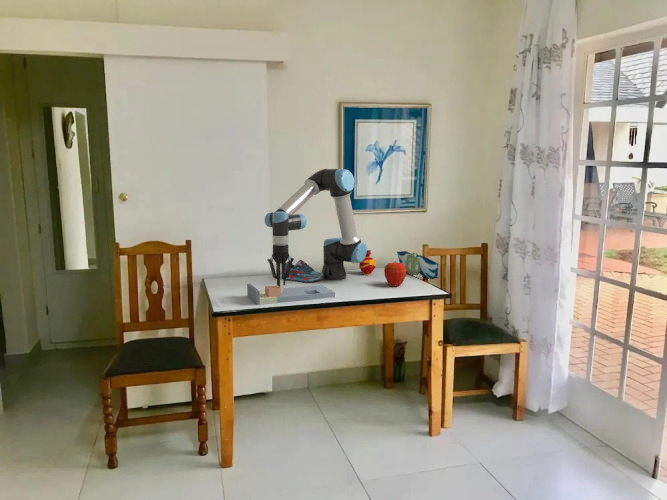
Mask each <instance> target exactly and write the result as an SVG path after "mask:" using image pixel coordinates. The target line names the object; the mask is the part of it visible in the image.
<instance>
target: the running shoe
mask: <svg viewBox="0 0 667 500" xmlns="http://www.w3.org/2000/svg"><path fill="white" fill-rule="evenodd" d="M287 264H288V261H286V265H285V273H286V269H287ZM322 278H324V274H323V272H321V271H320V272H319V271H315V269H314V268H313V267H311V266H310V265H309V264H308V263H306V262H305V261H304V260H303V259H299V260H298V261H297V262H296V264H294V263H292V265H291V269H290V274H289V277H288V278H286V279H285V281H291V282H293V281H295V282H301V283H306V284H307V283H314V282H318V281H320V280H323V279H322Z"/></svg>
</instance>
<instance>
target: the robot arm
mask: <svg viewBox="0 0 667 500" xmlns="http://www.w3.org/2000/svg"><path fill="white" fill-rule="evenodd" d="M354 187H355V177H354V175H353V173H352V172H351V171H350V170H348V169H345V168H324V169H320V170H318V171H316V172H314V173H313V174H312V175H311V176H309V177H307V179H306V180H305V181H304V184H303V185H302V186H301V187H300V188H299V189H298V190H297V191H295V192H294V193H293V194H292V195H291V196H290V197H289V198H288V199H287V200H286V201H284V203H283V204H281V206H279V207H278V208H277V209H275V211H274V212H268V213H267V214H266V215H265V217H264V223H265V226H267V227H268V228H272V255H271V257H269V258H267V262H268V263H269V268H270V270H271V275H272V278H274V279H275V280H276V286H278V287H280V288H281V293H283V288H284V286H286V280H287V279H286V278H288V277H289V274H290V269H291V265H292V264H293V262H294V260H295V258H294V257H291V256H290V254H289V231H297V230H298V231H300V230H303V229H304V228H306V226H307V218H306V216H305V215H304V214H300V213H299V214H298V213H297V212H298V211H299V210H300V209H301V208H302V207H303V206H304V205H305V204H306V203H307V202H308V201H309V200H310V199H312V197H314V196H316V195H318V194H319V193H320V192H323V191H328V192H329V194H330V197H331V198H332V199H334V204H335V210H336V215H337V220H338V225H339V229H340V234H341V237H331V238H326V239H324V240H323V246H322V247H323V254H322V255H323V264H322V268H321V271H320V272H323V274H324V278H322V279H321V280H330V281H335V280H336V281H337V280H345V279H347V271H346V268H345V265H344V262H346V263H352V264H360V262H362V261H363V260H364V258H365V256H366V253H367V250H368V248H367V244H365V243H364V242H362V240H361V236H359V235H358V232H357V228H356V223H355V216H354V211H353V207H352V200H351V194H352V190H353V189H354ZM274 262H275V265H274ZM286 262H288V264H287V269H286V273H285V265H286ZM275 266H276V267H275ZM275 268H276V269H275ZM285 279H286V280H285Z"/></svg>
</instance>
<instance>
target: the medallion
mask: <svg viewBox="0 0 667 500" xmlns="http://www.w3.org/2000/svg"><path fill="white" fill-rule="evenodd" d="M396 253H397V257H398V261H399V262H398V263H402V264H403V265H404V266H405V267H406V270H407V271H406V272H407V273H408V274H409V275H411V276H418V275H419V274H420V275H421V276H422V277H424V278H427V279H430V280H434V279H438V273H439V263H438V262H437V261H434V260H432V259H430V258H428V257H425V256H424V255H420V254H418V253H415V252H413V253H411V252H409V251H408V250H407V251H406V250H404V251H403V250H402V251H396Z"/></svg>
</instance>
